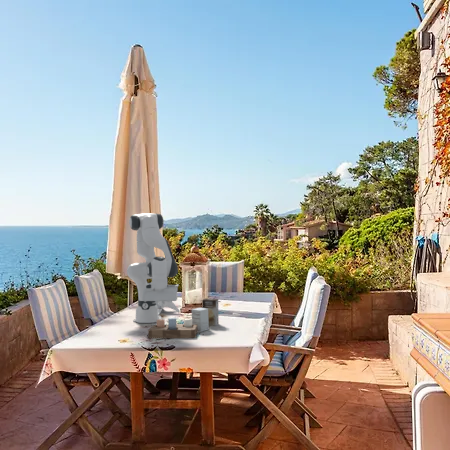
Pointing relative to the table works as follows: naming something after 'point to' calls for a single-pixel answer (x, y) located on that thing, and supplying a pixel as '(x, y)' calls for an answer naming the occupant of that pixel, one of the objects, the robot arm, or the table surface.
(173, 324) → the key slate
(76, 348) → the table surface
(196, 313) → the supplement box
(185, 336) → the tray
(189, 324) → the cream egg-shaped piece
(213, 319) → the coffee box
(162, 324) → the tan rounded short cylinder
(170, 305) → the starfish
